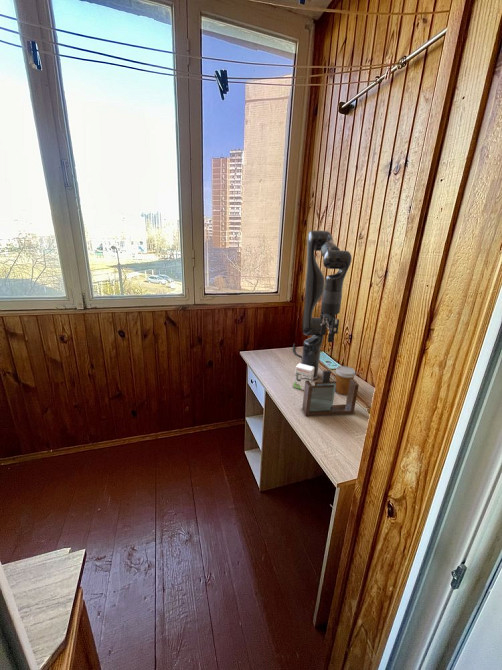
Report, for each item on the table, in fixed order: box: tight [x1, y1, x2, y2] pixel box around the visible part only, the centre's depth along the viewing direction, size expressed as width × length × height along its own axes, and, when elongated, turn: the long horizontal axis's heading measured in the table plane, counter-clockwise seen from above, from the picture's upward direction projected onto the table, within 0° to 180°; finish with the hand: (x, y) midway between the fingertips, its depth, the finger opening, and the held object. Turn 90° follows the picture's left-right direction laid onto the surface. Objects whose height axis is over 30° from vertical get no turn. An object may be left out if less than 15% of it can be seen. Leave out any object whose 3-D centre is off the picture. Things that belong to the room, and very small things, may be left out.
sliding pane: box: [313, 369, 336, 407], centre depth 127 cm, size 1×9×18 cm, turn 98°
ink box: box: [293, 362, 314, 391], centre depth 147 cm, size 9×5×12 cm, turn 61°
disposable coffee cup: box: [335, 365, 356, 395], centre depth 145 cm, size 10×10×12 cm
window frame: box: [301, 378, 360, 417], centre depth 127 cm, size 5×22×14 cm, turn 98°
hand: (326, 338), depth 125 cm, fingers open, 8 cm apart
